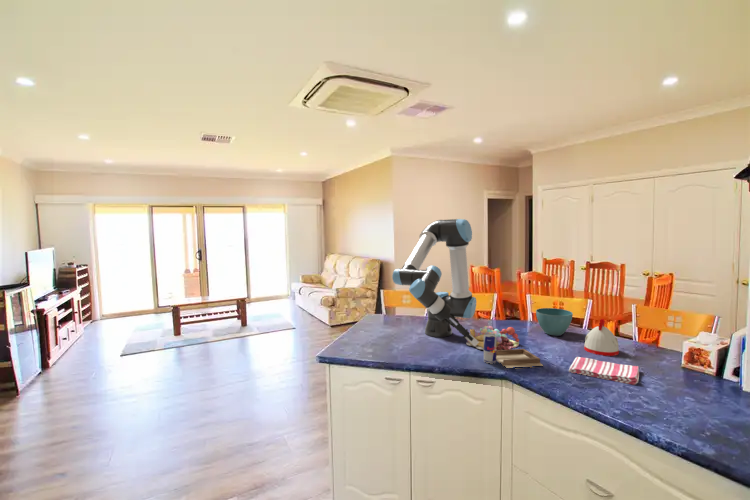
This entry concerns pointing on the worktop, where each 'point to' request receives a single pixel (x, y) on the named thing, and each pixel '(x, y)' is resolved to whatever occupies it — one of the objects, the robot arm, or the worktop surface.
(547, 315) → the teal bowl
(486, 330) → the food platter
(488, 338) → the energy drink
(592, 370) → the dish towel
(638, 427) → the worktop surface
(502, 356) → the brown flat tray
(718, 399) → the worktop surface
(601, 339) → the white red-trimmed dome
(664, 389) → the worktop surface
